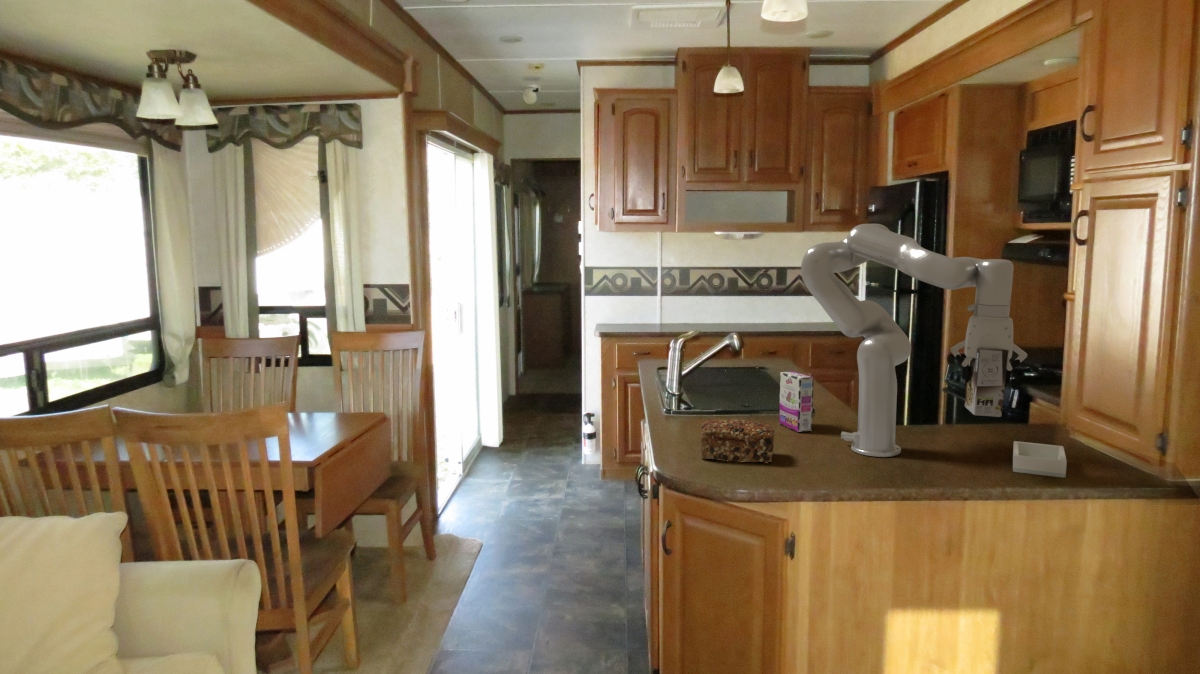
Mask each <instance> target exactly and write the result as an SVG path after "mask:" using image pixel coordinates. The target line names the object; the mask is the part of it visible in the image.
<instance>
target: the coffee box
mask: <svg viewBox="0 0 1200 674" xmlns="http://www.w3.org/2000/svg"><path fill="white" fill-rule="evenodd" d="M1007 359H1008V350H1003V349H990V348H987V349H985V348H977V353H976V358H975V359H974V358H973V359H972V360H971V361H970V362H969V366H970V369H969V380H968V383H965V384H966V388H965V397H964V407H965V408H966V410H968V411H969V412H970V413H971V414H972V415H974V416H982V417H983V416H984V417H995V418H998V417H999V418H1001V417H1002V415H1003V407H1004V406H1003V405H1004V397H1005V396H1004V395H1005V388H1006V387H1005V377H1006V368H1007Z"/></svg>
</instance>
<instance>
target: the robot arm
mask: <svg viewBox="0 0 1200 674" xmlns="http://www.w3.org/2000/svg"><path fill="white" fill-rule="evenodd" d="M869 261H873V262H875V263H879V264H882V265H884V266H888V267H890V268H893V269H896V270H898V271H900V272H902V273H903V274H905V275H908V276H909V277H912V278H913V279H916V280H918V281H921V282H923V283H926V284H928V285H932V286H935V287H938V288H940V289H941V288H942V289H945V290H948V291H950V290H951V291H952V290H953V291H955V290H959V289H967V288H973V287H975V295H974V296H975V297H974V303H973V304H971V305H969V304H968V305H967V312H970V313H971V312H972V313H973V315H971V316H970V317H969V319H968V323H967V327H966V333H965V339H964V340H962V341H960V342H958V343H957V344H955V345H953V346H952V347H950V349H949V350H950V352H951V354H952V355H953V356H954V358H955V360H956V361H958V363H959V364H961V366H962V373H961V375H962V376H961V379H962V380H964V383H965V384H967V383H968V380H969V369H970V366H969V362H970V361H971V360H972V359H973V358H974V359H975V358H976V353H977V348H985V349H987V348H990V349H1003V350H1008V359H1007V368H1006V377H1005V387H1004V388H1007V384H1010V383H1011V374H1012V373H1011V372H1012V370H1014V369H1015V368H1016V367H1017V366H1019V365H1020V364H1021V363H1022V362H1023V361H1025V360H1026V359H1027V357H1028V353H1027V352H1025V351H1024V350H1023V349H1021V348H1020V347H1019V346H1018V345H1016V344H1015V343H1014V322H1013V318H1011V317H1010V313H1011V302H1012V301H1011V300H1012V298H1011V297H1012V289H1013V281H1014V280H1013V279H1014V270H1015V269H1014V264H1013V262H1012V261H1011V260H1009V259H1003V258H1002V259H997V258H996V259H995V258H988V259H982V258H978V257H971V256H959V257H958V256H957V257H950V256H946V255H944V254H941V253H938V252H934V251H931V250H929V249H926V248H924V247H922V246H921V245H920V244H918V242H917V240H916V239H915V238H914V237H913V238H912V237H910V236H907V235H903V234H900V233H896V232H893V231H891V230H890V229H889V228H888V227H887V226H885V225H883V224H881V223H861V224H858V225H856V226H854V227H853V228H852V229H850V231H849V232H848V234H847V237H845V238H844V239H842V240H840V241H832V242H831V241H830V242H819V243H817V244H815V245H813V246H811V247H810V248H808V250H806V252H805V253H804V255H803V257H802V260H801V265H800V273H801V277H802V280H803V283H804V285H805V287H806V289H807V290H808V292H809V293H810V294H811V295H812V296H813V298H814V299H815V300H816V301H817V302H818V304H819V305H820V306H821V307H822V308H823V310H824V312H825V313H826V314H827V315H828V317H829V318H830V319H831V320H832V321H833V323H834V324H835V325H836V327H837V328H838V329H839V331H840V332H841V333H842V334H843V335H844V336H846V337H848V338H860V337H863V338H864V340H862V341H861V342H860V344H859V345H858V348H857V353H856V360H857V368H858V413H857V415H858V416H857V431H853V432H848V431H841V433H840V439H842V440H843V441H846V442H849V441H850V442H852V443H851V445H850V449H851V451H853V452H855V453H856V454H859V455H863V456H867V457H873V458H874V457H877V458H888V457H890V458H891V457H895V456H898V455H899V454H901V453H902V447H901V446H900V445H898V444H896V427H897V426H896V425H897V424H896V423H897V402H898V401H897V399H898V397H897V395H898V382H897V381H898V380H897V374H896V366H899V365H900V364H903V363H905V362H906V361H907V360H908V359H909V357H910V355H911V352H912V344H911V342H910V341H911V340H909V338H908V336H907V334H906V333H905V332H904V330H902V328H901V327H900V325H899V324H898V323H897V322H896V321H895V320H894V318H892V316H891V315H890V314H889V313H888V312H887V310H886V309H885V308H884V307H883V306H882V305H880V304H879V303H878V302H876V301H873V300H868V299H867V300H860V299H858V297H856V296H855V295H854V294H853V292H852V291H851V290H850V288H849V287H848V286H847V285H846V283H844V282H843V281H842V280H840V278H838V277H837V276H836V274H835V273H843V272H847V271H850V270H851V269H854V268H856V267H857V266H861V265H863V264H864V263H866V262H867V263H868V262H869ZM962 348H964V355H965V357H963V355H962V354H961V353H960V352H959V350H961V349H962ZM1013 352H1014V353H1016V354H1017V358H1015V359H1014V360H1012V361H1010V360H1011V358H1012V357H1013Z"/></svg>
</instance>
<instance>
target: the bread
mask: <svg viewBox="0 0 1200 674" xmlns="http://www.w3.org/2000/svg"><path fill="white" fill-rule="evenodd" d="M700 433H701V434H700V448H701V449H700V452H701V459H702V458H703V459H702V460H706V459H709V460H715V461H718V460H725V461H726V462H729V461H744V462H751V463H757V462H771V463H772V460H773V455H774V444H775V443H774V437H775V429H774V428H773V427H772V426H771V425H770V423H763V422H759V421H757V422H756V421H752V420H748V419H725V420H724V419H717V418H713V419H707V420H706V421H704V422H703V423H702V425H701V432H700ZM727 460H728V461H727ZM725 461H724V462H725Z"/></svg>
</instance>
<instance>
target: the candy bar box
mask: <svg viewBox="0 0 1200 674" xmlns="http://www.w3.org/2000/svg"><path fill="white" fill-rule="evenodd" d="M814 379H815V378H814V377H813V376H810V375H807V374H803V373H800V372H796V371H793V370H791V371H782V372H780V373H779V410H778V411H779V415H778V416H779V418H778V424H779V423H781V424H783V425H785V426H787V427H789V428H791V429H793V430H792V431H794V430H795V431H794V432H796V431H797V432H796V433H798V432H802V433H806V432H805V431H811V432H812V431H813V408H814ZM787 427H786V428H787ZM789 428H788V429H789ZM791 429H790V430H791Z"/></svg>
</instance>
